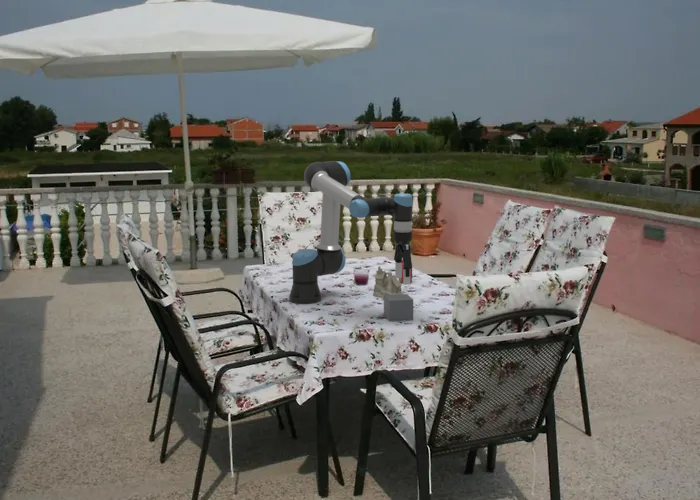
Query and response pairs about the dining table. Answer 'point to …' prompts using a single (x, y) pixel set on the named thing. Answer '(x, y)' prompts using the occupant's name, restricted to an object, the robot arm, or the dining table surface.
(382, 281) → the ceramic cottage
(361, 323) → the dining table surface
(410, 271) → the soda can
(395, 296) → the smooth grey cube
